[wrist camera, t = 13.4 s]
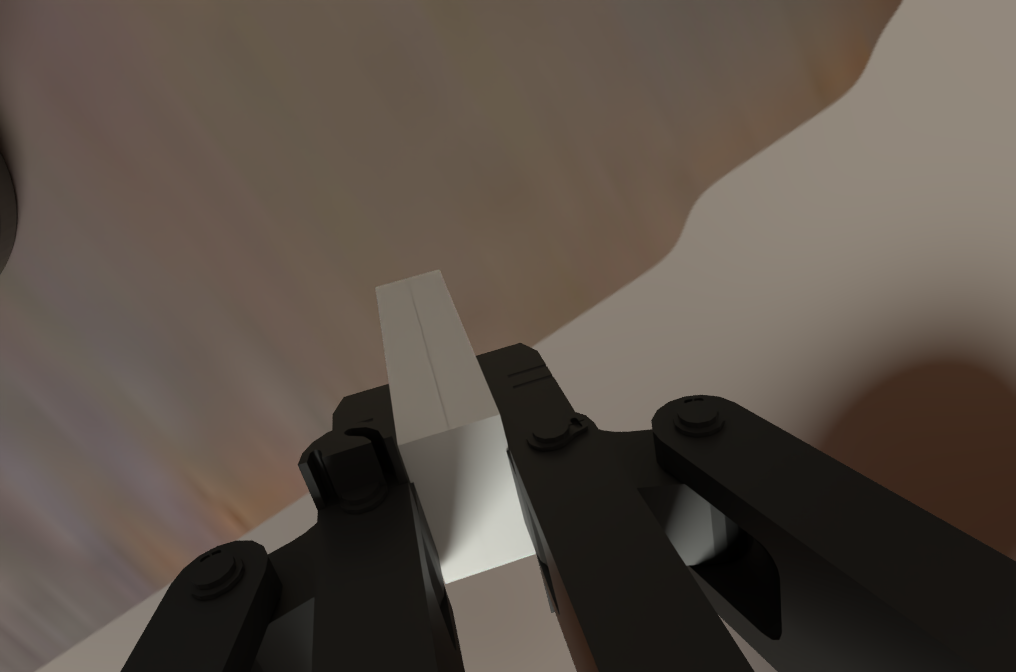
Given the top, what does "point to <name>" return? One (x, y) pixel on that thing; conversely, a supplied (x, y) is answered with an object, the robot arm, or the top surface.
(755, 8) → the top surface
